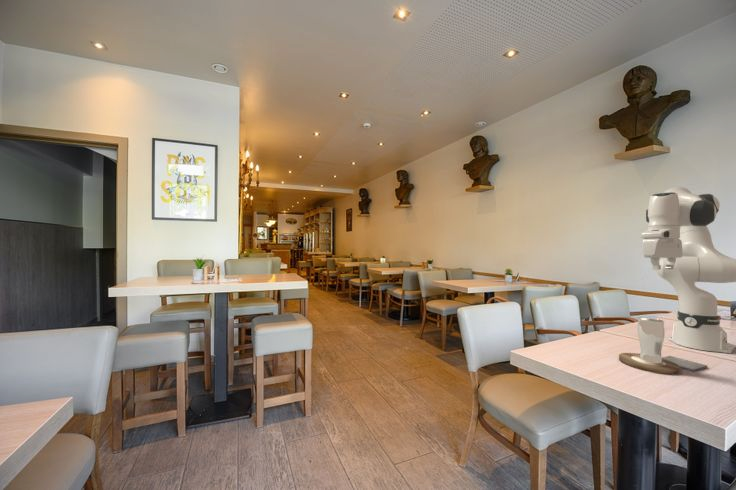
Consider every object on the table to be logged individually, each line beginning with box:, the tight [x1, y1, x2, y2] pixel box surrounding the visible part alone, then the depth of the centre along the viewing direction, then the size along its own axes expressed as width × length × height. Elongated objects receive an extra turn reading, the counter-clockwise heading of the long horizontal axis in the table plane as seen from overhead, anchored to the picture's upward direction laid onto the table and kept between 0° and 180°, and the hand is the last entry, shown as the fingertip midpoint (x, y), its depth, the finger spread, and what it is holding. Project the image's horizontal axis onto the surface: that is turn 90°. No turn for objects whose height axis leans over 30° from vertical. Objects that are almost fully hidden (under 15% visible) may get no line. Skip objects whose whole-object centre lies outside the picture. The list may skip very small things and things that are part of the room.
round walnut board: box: [618, 352, 682, 376], centre depth 105 cm, size 16×16×2 cm
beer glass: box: [637, 316, 665, 365], centre depth 104 cm, size 7×7×15 cm
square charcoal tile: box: [661, 355, 708, 373], centre depth 106 cm, size 10×10×1 cm
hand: (663, 269), depth 113 cm, fingers open, 8 cm apart
